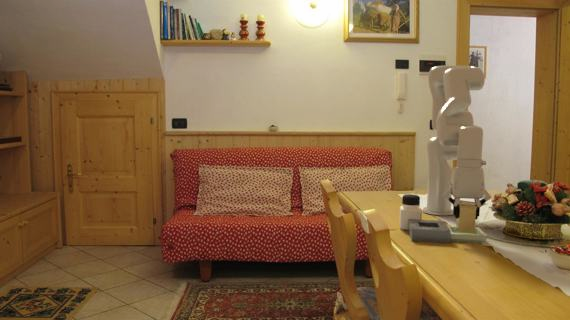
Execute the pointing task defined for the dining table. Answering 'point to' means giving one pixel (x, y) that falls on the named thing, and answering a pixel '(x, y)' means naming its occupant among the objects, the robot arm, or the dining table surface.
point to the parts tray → (467, 236)
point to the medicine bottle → (409, 210)
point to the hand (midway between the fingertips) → (465, 217)
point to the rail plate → (429, 231)
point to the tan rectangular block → (466, 218)
